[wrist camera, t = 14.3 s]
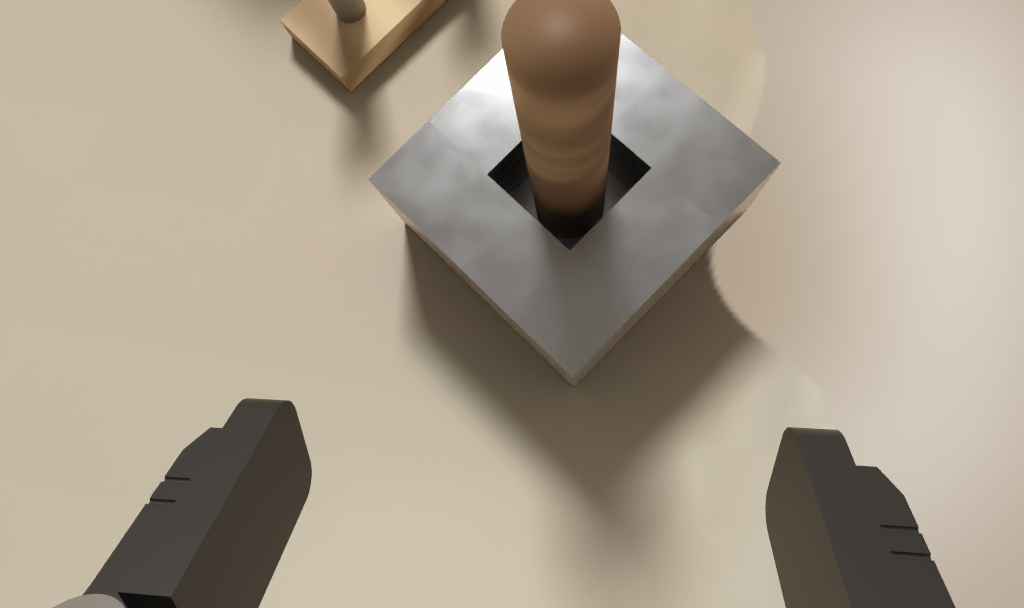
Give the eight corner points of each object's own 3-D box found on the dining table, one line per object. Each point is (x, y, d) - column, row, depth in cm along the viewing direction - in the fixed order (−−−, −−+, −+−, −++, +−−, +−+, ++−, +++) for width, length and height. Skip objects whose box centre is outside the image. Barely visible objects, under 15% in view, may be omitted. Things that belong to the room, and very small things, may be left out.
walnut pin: (570, 252, 31) (562, 111, 18) (521, 207, 32) (477, 38, 18) (618, 204, 32) (646, 27, 18) (568, 160, 32) (559, -42, 19)
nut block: (573, 387, 32) (572, 377, 26) (404, 222, 35) (368, 179, 29) (745, 211, 33) (780, 162, 27) (567, 62, 35) (565, -13, 30)
